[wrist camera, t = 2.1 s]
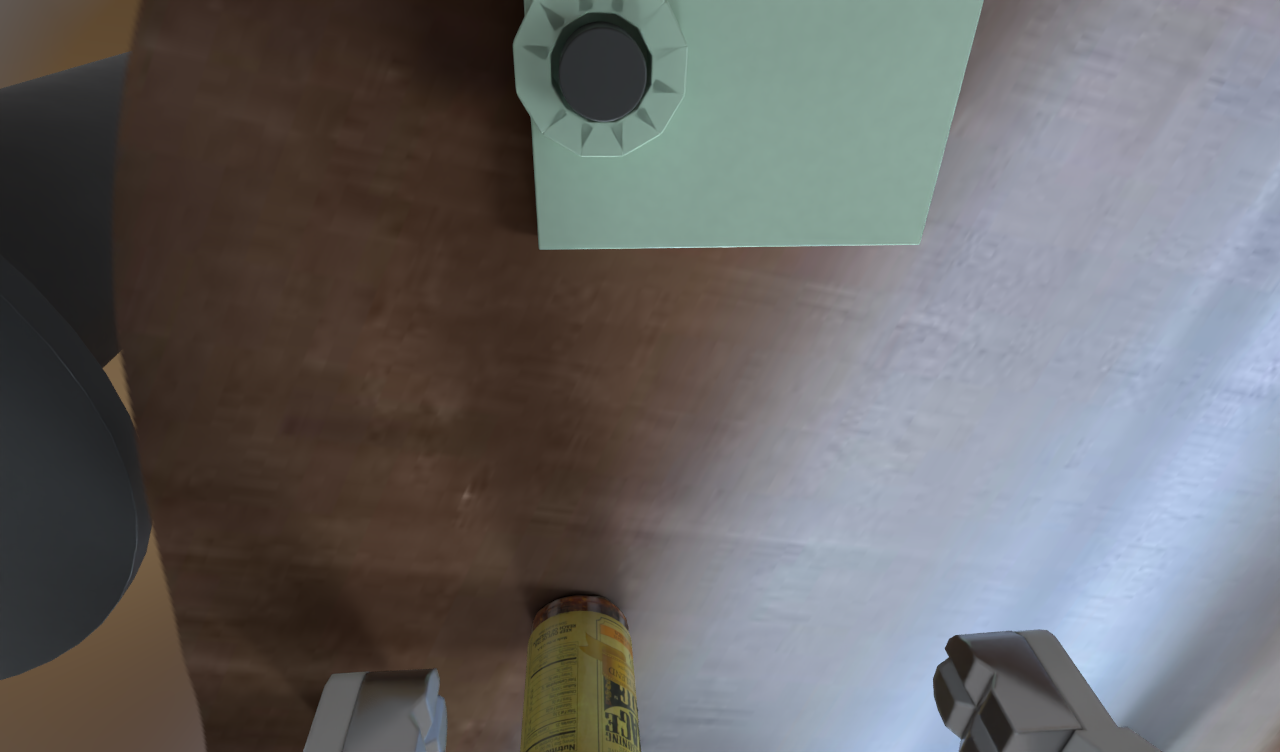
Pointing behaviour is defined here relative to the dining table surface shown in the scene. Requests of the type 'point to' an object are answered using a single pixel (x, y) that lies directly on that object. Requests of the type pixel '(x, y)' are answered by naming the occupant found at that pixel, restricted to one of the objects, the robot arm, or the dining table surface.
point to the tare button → (602, 71)
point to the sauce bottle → (580, 680)
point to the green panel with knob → (748, 122)
